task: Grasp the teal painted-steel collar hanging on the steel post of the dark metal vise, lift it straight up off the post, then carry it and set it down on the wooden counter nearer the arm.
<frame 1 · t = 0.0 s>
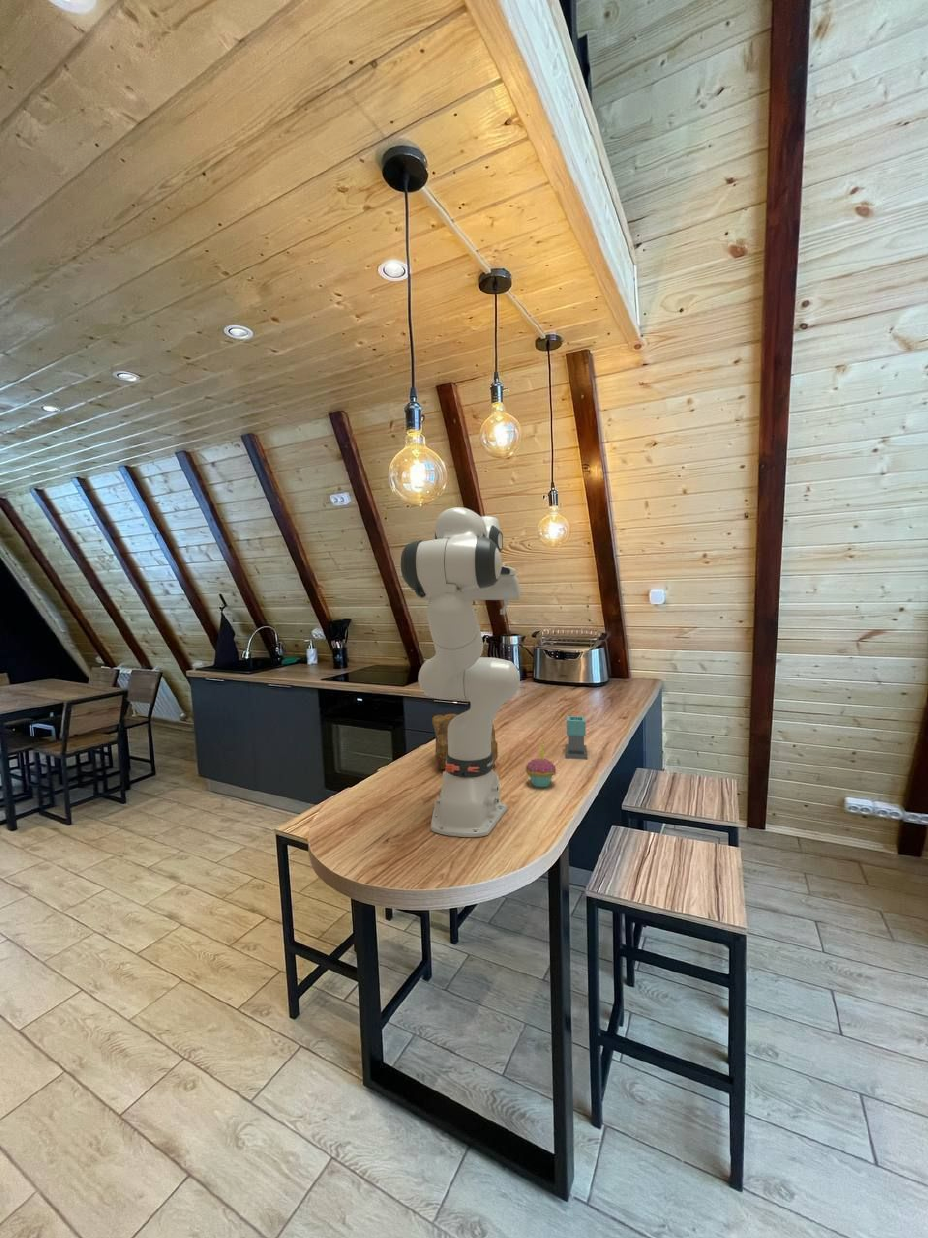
hand: (487, 614, 153), 48 cm above the table, tool pointing down, fingers open, 8 cm apart
collar: (576, 733, 165), point 7 cm above the table, touching vise post
stone bowl: (457, 766, 156), on the table
vise post: (576, 753, 166), on the table
cupcake: (541, 785, 141), on the table
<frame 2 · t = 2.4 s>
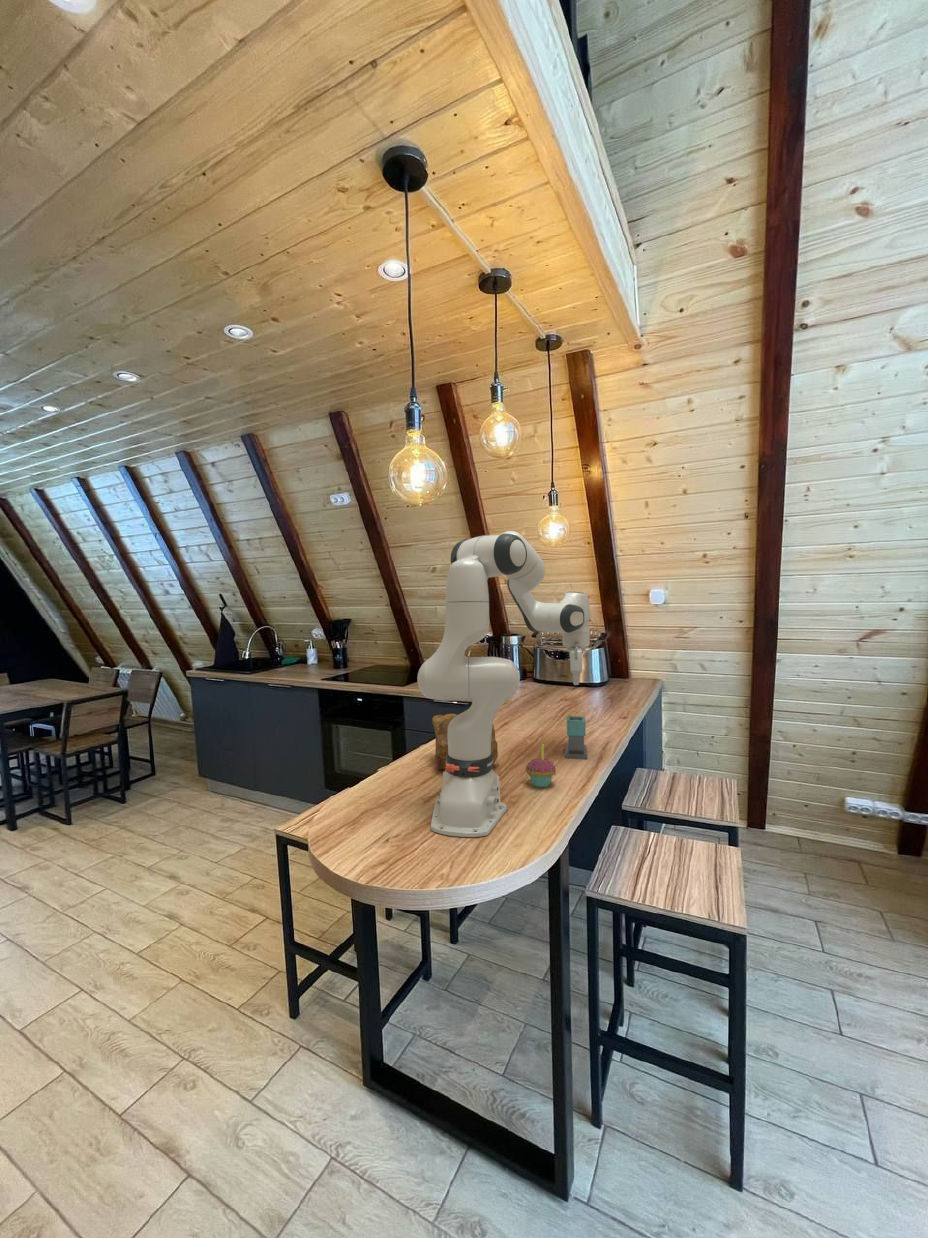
hand: (575, 681, 164), 25 cm above the table, tool pointing down, fingers open, 8 cm apart
nothing on the table moved.
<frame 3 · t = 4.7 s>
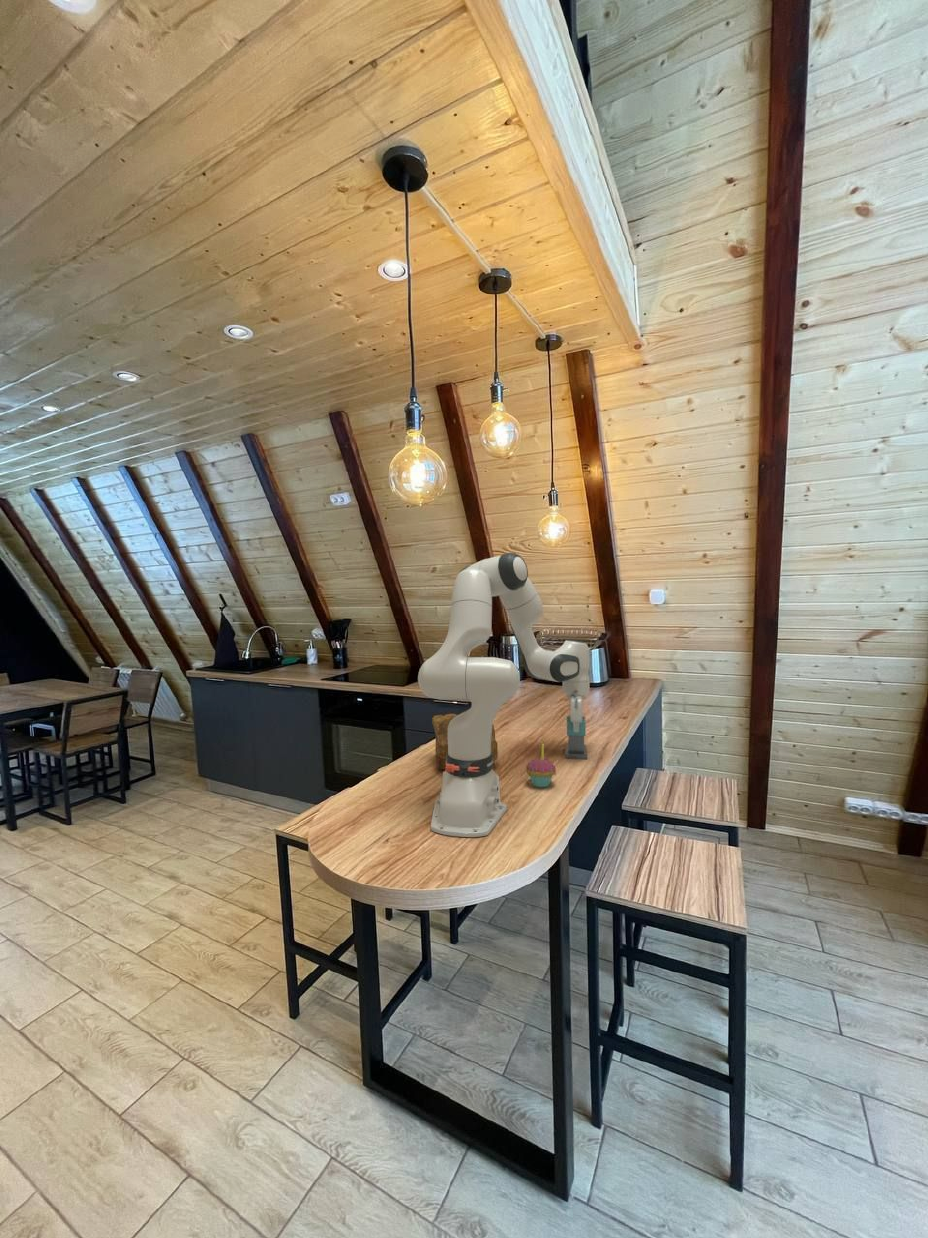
hand: (576, 728, 165), 9 cm above the table, tool pointing down, fingers closed on collar, 6 cm apart
collar: (576, 733, 165), point 7 cm above the table, touching gripper, vise post
everything else where it was.
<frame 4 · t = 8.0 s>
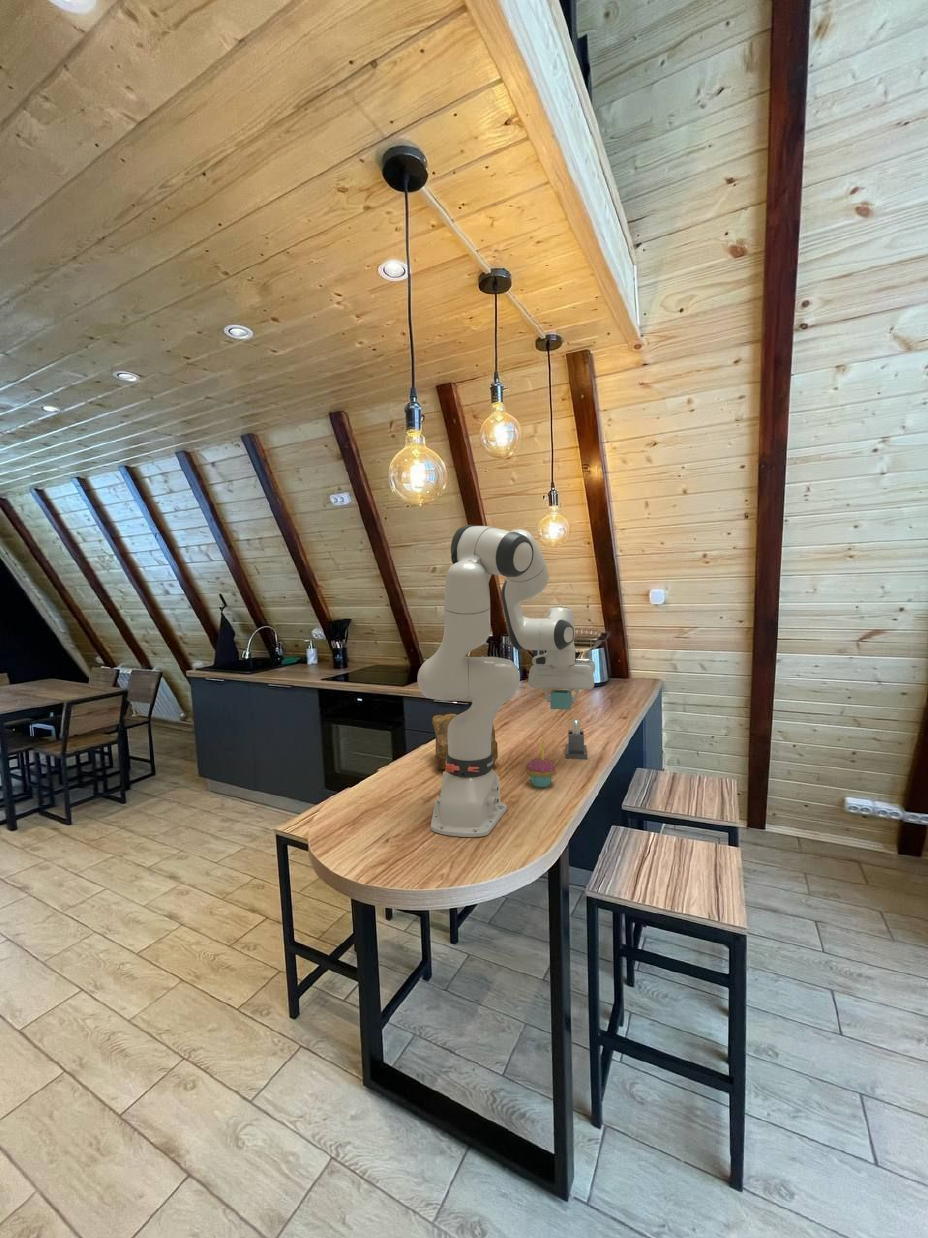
hand: (561, 702, 154), 20 cm above the table, tool pointing down, fingers closed on collar, 6 cm apart
collar: (561, 707, 154), point 19 cm above the table, touching gripper
everything else where it was.
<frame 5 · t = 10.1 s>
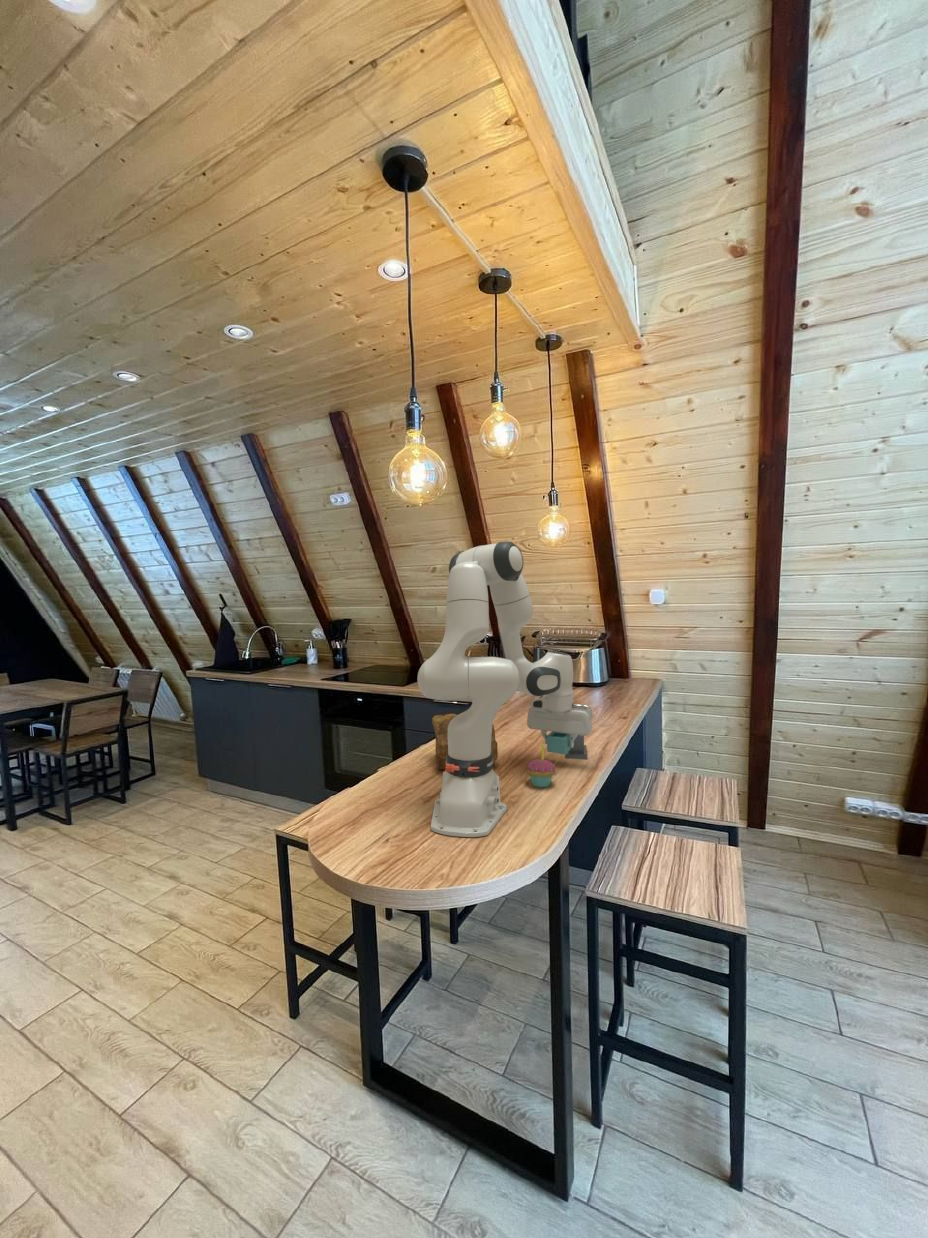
hand: (559, 745, 155), 6 cm above the table, tool pointing down, fingers closed on collar, 6 cm apart
collar: (559, 750, 155), point 5 cm above the table, touching gripper
everything else where it was.
when the fingers open (3 cm above the table, at t = 11.6 s): collar drops 2 cm, on the table.
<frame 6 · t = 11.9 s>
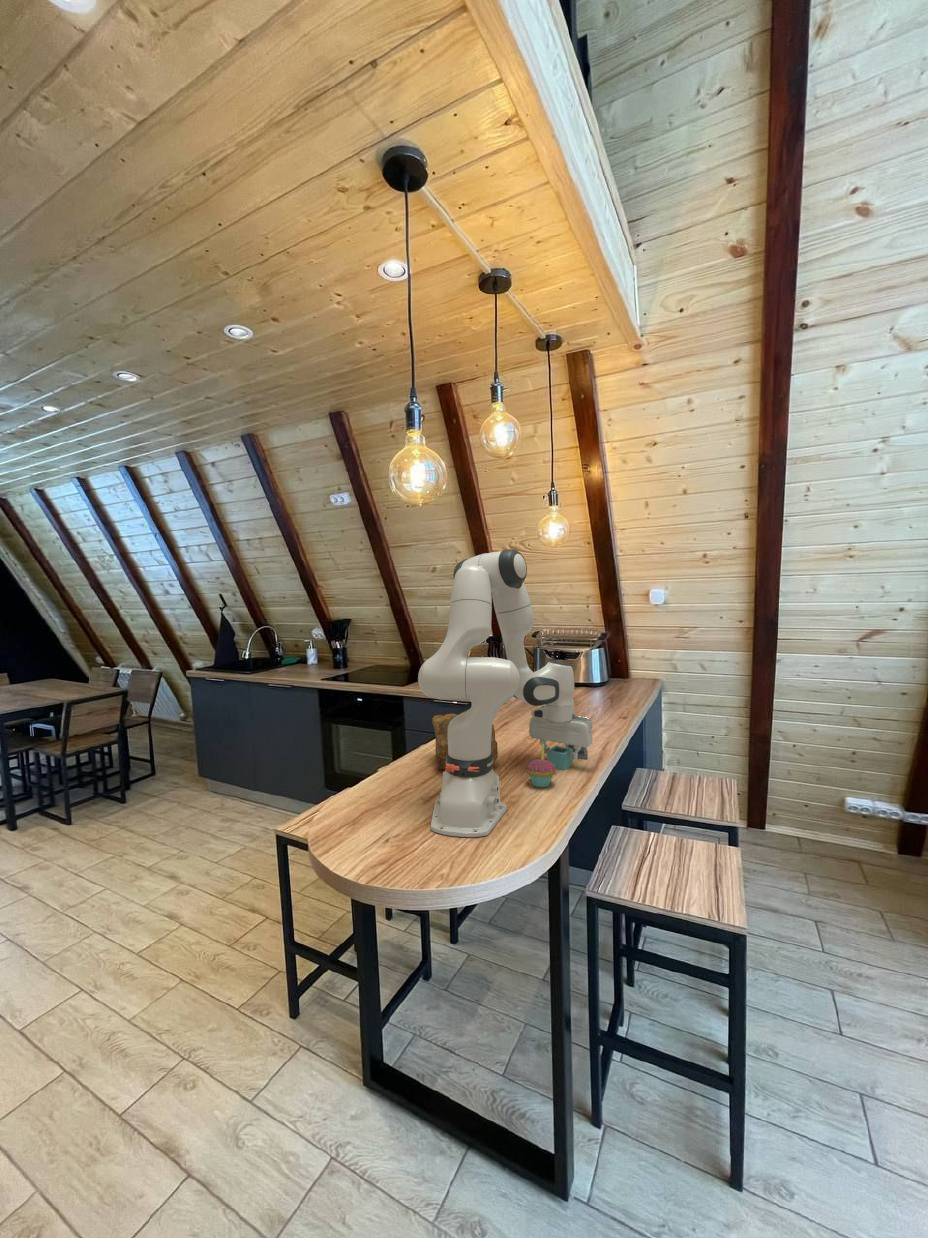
hand: (560, 755, 155), 3 cm above the table, tool pointing down, fingers open, 8 cm apart
collar: (560, 765, 155), on the table
everything else where it was.
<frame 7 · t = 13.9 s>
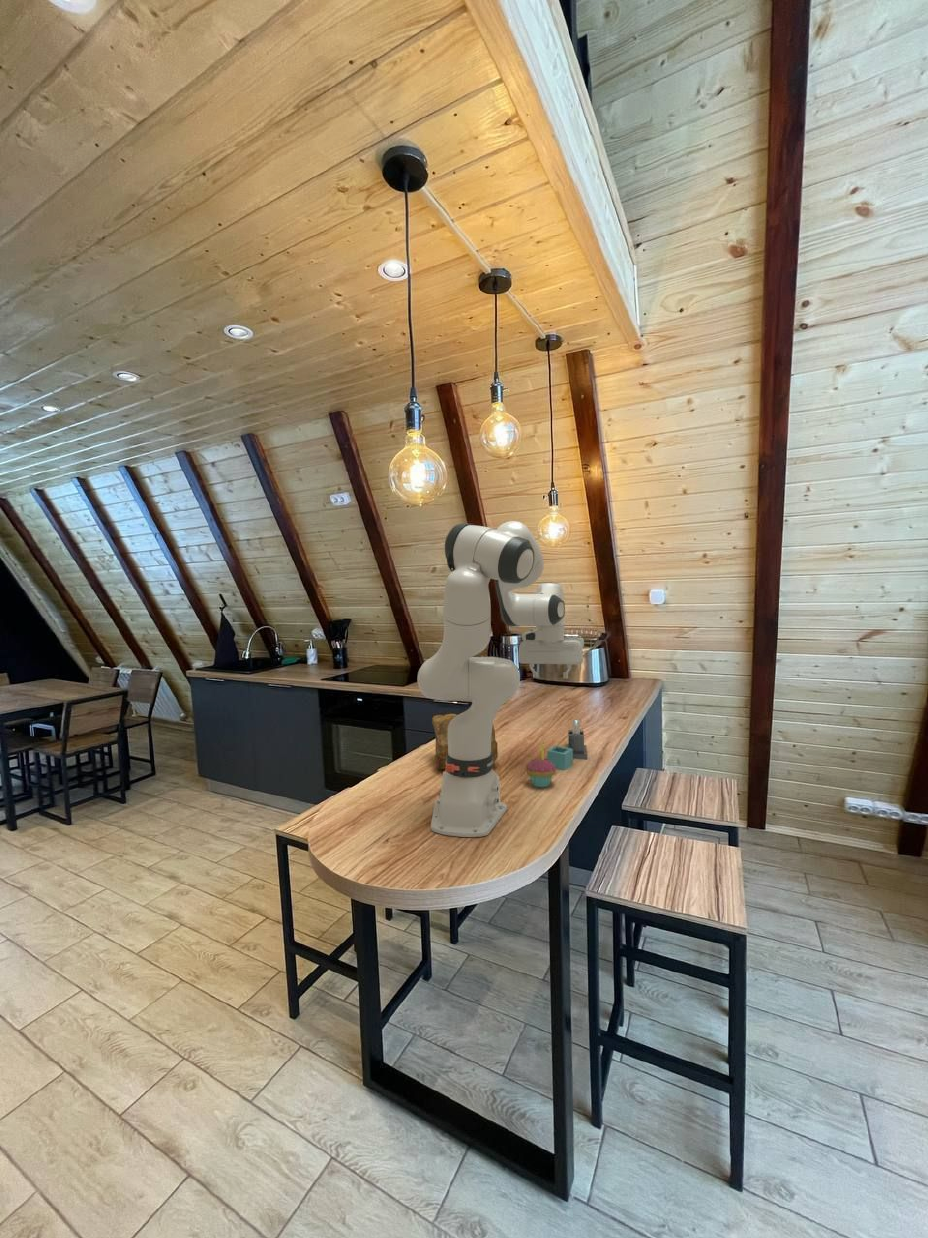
hand: (550, 678, 155), 28 cm above the table, tool pointing down, fingers open, 8 cm apart
nothing on the table moved.
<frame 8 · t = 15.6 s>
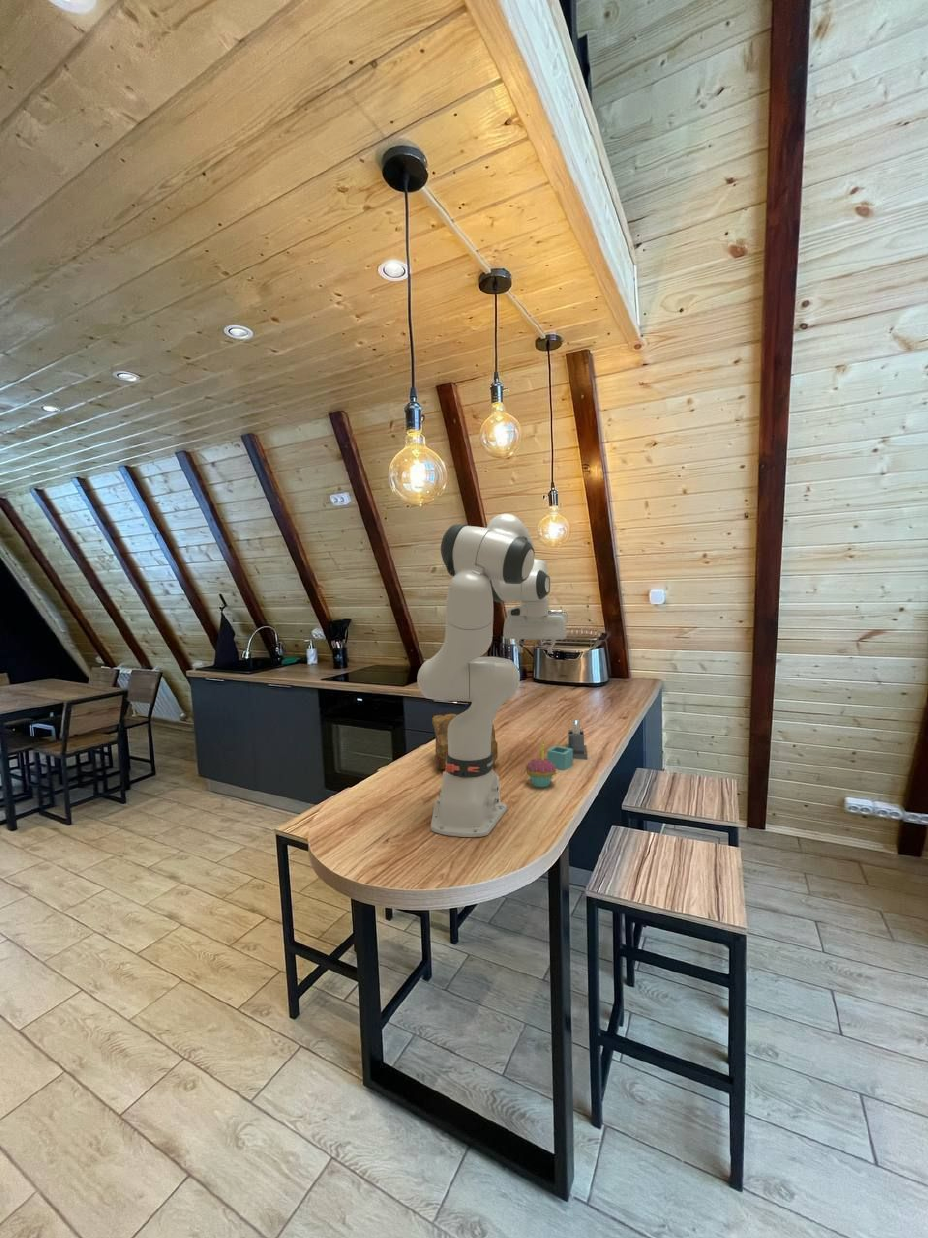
hand: (535, 653, 158), 35 cm above the table, tool pointing down, fingers open, 8 cm apart
nothing on the table moved.
at the end: collar inside the target area (0.0 cm from its centre), on the table; collar tilted 0°; the gripper is holding nothing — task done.
